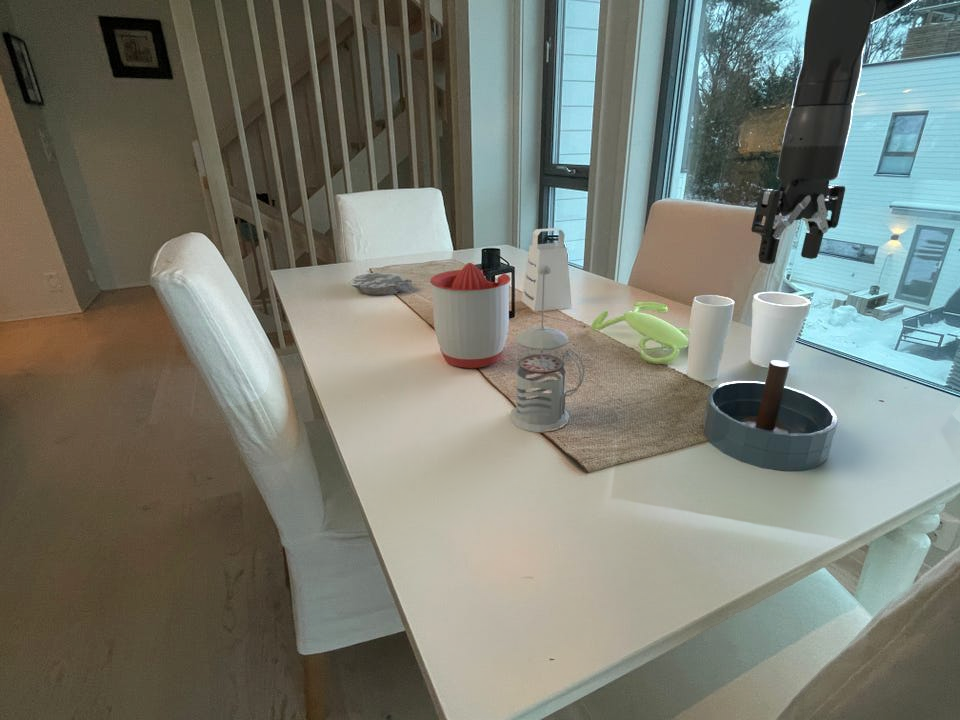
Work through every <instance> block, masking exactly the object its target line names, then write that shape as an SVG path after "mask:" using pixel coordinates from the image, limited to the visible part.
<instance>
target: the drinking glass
mask: <svg viewBox="0 0 960 720" xmlns="http://www.w3.org/2000/svg"><path fill="white" fill-rule="evenodd" d="M734 309H735V301H734V300H733V299H731V298H730V297H726V296H721V295H715V294H702V295H697V296H695V297H694V298H693V301H692V305H691V311H690V315H689V316H690V317H689V327H688V330H689V334H688V341H689V345H688V346H687V347H688V349H687V362H686V363H687V364H686V373H685V374H686V376H688V377H689V378H691V379H693V380H697V381H702V382H703V381H704V382H710V381H715V380H716V379H717V378H718V375H719V374H718V373H719V368H720V364H721V361H722V359H723V354H724V350H725V347H726V344H727V339H728V336H729V333H730V329H731V327H732V326H731V325H732V320H733V316H734Z"/></svg>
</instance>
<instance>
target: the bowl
mask: <svg viewBox="0 0 960 720" xmlns="http://www.w3.org/2000/svg"><path fill="white" fill-rule="evenodd" d="M764 385H765V382H763V381H753V380H735V381H728V382H724V383H720V384H718V385H716V386H714V387H712V388H711V390H710V391H709V393H708V394H707V397H706V403H705V408H704V415H703V420H702V433H703V435H704V437H705V438H706V440H707V441H708V442H709V443H710V444H711V445H712V446H713V447H715V448H716V449H717V450H718V451H720V452H721V453H723V454H725V455H726V456H729V457H731V458H733V459H735V460H737V461H740V462H741V463H746V464H749V465H751V466H755V467H759V468H762V469H768V470H774V471H780V472H781V471H782V472H783V471H784V472H786V471H787V472H788V471H790V472H792V471H794V472H795V471H797V472H798V471H807V470H811V469H815V468H818V467H820V465H822V464H823V463H824V462H826V461H827V459H828V456H829V453H830V449H831V446H832V444H833V443H832V442H833V439H834V436H835V433H836V429H837V426H838V416H837V414H836V413H835V411H834V410H833V409H832V408H831V407H830V406H829V405H828V404H826V403H825V402H824V401H822V400H821V399H819V398H817V397H815V396H813V395H810V394H809V393H807V392H804V391H802V390H798V389H795V388H792V387H790V386H786V385H785V386H784V391H783V395H782V399H781V403H780V407H779V411H778V415H777V419H776V421H779V422H781V423H782V424H784V425H785V426H786V427H787V428H788V431H789V432H788V433H781V432H773V431H768V430H764V429H760V428H756V427H753V426H749V425H747V424H745V423H742V421H743V419H745V418H747V417H751V416H758V412H759V408H760V403H761V399H762V394H763V390H764Z"/></svg>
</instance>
